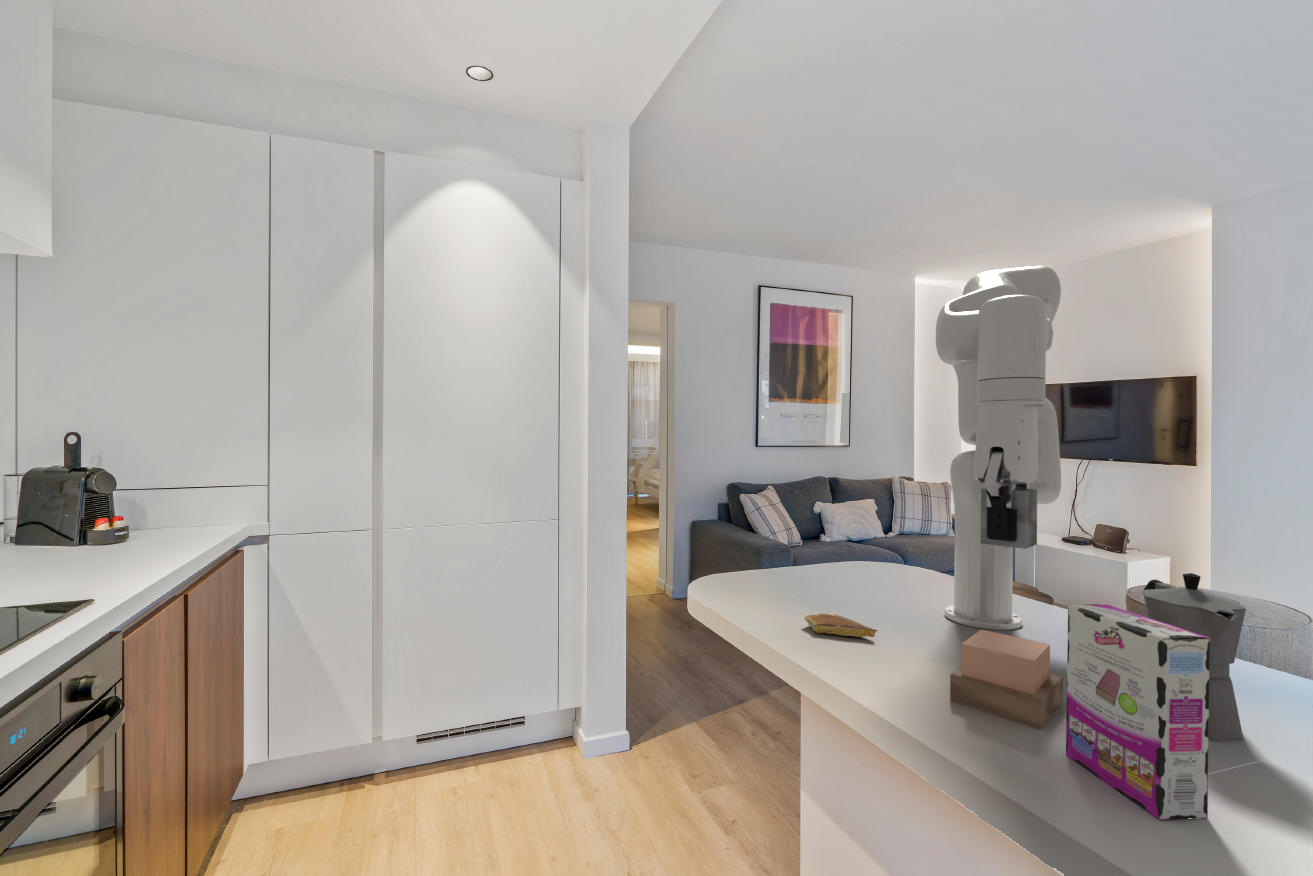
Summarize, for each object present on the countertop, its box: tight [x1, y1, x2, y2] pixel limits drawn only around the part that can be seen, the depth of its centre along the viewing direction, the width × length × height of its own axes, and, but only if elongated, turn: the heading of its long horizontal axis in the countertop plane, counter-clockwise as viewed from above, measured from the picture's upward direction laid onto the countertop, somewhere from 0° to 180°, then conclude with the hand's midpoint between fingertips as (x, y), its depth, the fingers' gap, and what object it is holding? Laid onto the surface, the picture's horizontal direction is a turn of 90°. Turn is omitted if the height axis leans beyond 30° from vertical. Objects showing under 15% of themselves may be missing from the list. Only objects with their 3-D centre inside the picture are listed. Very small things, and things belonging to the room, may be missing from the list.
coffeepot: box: [1142, 572, 1247, 743], centre depth 71 cm, size 15×9×18 cm, turn 167°
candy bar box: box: [1065, 603, 1210, 822], centre depth 58 cm, size 11×5×16 cm, turn 5°
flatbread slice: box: [804, 613, 878, 638], centre depth 101 cm, size 11×8×2 cm
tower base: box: [949, 665, 1064, 730], centre depth 75 cm, size 10×10×4 cm
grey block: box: [981, 488, 1038, 550], centre depth 75 cm, size 5×5×7 cm
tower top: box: [961, 629, 1051, 694], centre depth 75 cm, size 8×8×4 cm
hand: (1008, 536), depth 75 cm, fingers closed on grey block, 5 cm apart
